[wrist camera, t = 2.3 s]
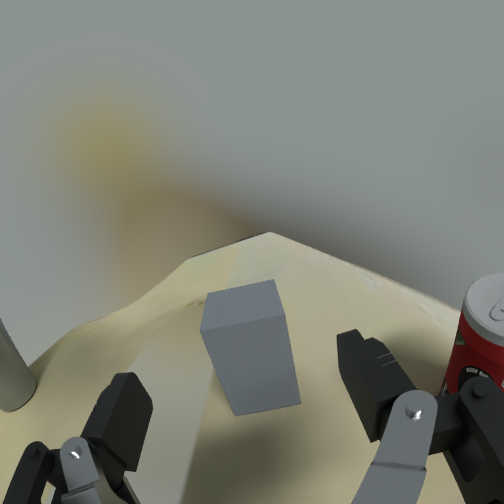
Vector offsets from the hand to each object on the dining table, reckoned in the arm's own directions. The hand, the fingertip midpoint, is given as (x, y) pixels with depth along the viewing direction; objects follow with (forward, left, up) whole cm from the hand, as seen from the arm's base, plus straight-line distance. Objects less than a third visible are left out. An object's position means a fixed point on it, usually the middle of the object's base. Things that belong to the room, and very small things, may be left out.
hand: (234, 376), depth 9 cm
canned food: (+15, -5, -13) cm, 21 cm away
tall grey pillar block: (+3, +11, -13) cm, 17 cm away
